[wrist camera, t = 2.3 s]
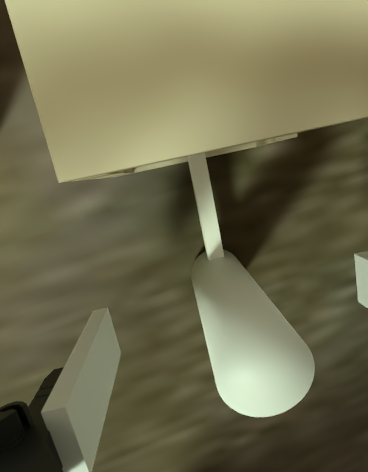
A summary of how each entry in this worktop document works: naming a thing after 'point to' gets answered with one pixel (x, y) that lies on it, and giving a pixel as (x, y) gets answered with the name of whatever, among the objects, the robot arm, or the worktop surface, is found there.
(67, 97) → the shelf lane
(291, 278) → the worktop surface
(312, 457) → the worktop surface
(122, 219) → the worktop surface
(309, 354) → the tethered block
